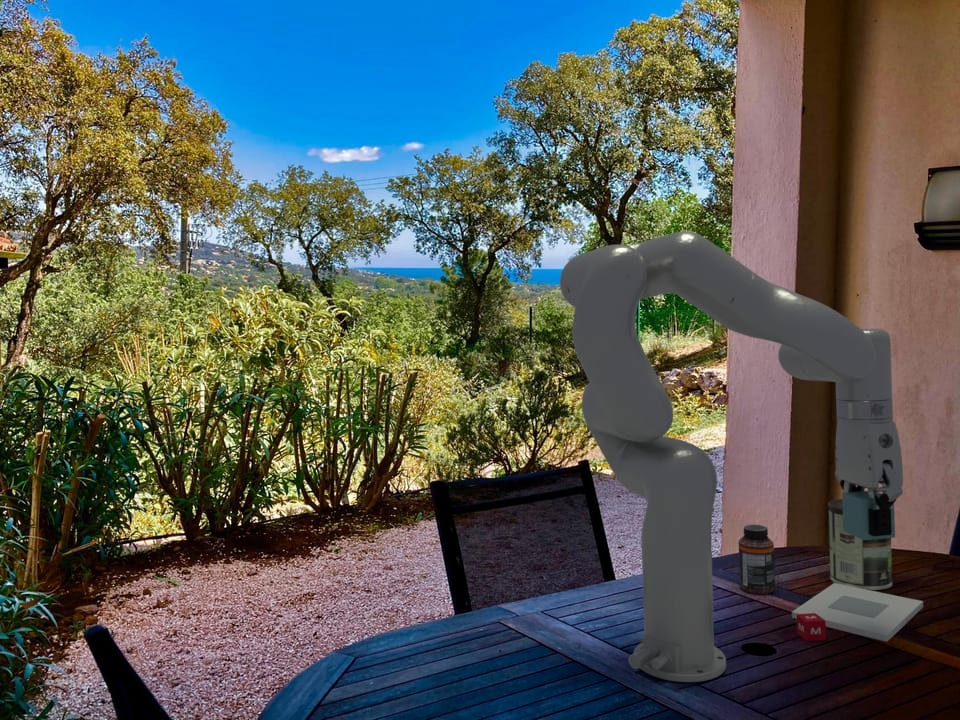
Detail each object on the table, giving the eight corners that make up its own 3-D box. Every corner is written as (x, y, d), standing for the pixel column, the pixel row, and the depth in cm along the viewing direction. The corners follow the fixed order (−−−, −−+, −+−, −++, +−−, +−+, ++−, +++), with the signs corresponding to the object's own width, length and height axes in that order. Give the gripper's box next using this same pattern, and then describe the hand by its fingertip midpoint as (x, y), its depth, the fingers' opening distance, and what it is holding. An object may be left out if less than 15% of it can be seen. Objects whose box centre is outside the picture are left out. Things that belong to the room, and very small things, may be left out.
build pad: (887, 641, 108) (886, 634, 108) (791, 618, 119) (791, 611, 118) (923, 607, 121) (922, 600, 121) (834, 588, 131) (834, 582, 131)
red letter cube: (815, 632, 113) (815, 612, 113) (826, 640, 110) (825, 620, 110) (796, 633, 113) (796, 614, 113) (806, 641, 110) (806, 621, 110)
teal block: (895, 537, 109) (893, 497, 109) (863, 540, 109) (862, 499, 109) (873, 528, 114) (872, 490, 114) (843, 531, 114) (842, 492, 114)
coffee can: (890, 575, 137) (889, 500, 136) (894, 593, 128) (893, 513, 127) (829, 569, 141) (827, 496, 141) (829, 586, 132) (827, 508, 132)
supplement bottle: (745, 581, 136) (743, 521, 136) (778, 587, 133) (777, 525, 132) (735, 591, 131) (733, 528, 131) (770, 597, 128) (768, 533, 127)
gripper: (927, 415, 103) (931, 543, 103) (853, 404, 120) (857, 514, 120) (876, 418, 102) (881, 548, 103) (809, 406, 119) (813, 518, 120)
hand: (868, 528), depth 112 cm, fingers closed on teal block, 5 cm apart
